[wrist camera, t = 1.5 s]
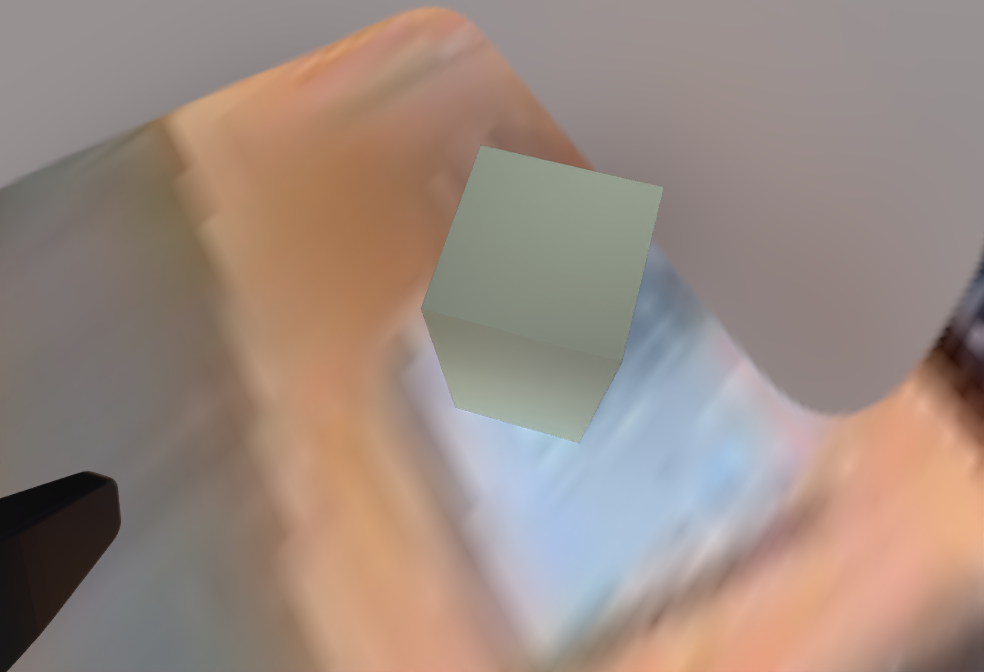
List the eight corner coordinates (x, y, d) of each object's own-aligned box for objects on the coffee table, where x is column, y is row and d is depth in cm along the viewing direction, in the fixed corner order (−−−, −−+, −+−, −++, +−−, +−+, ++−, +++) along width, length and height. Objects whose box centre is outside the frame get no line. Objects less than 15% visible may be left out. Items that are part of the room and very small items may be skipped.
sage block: (578, 443, 22) (621, 362, 13) (455, 407, 22) (421, 308, 14) (608, 326, 23) (663, 187, 15) (491, 296, 24) (480, 144, 15)
